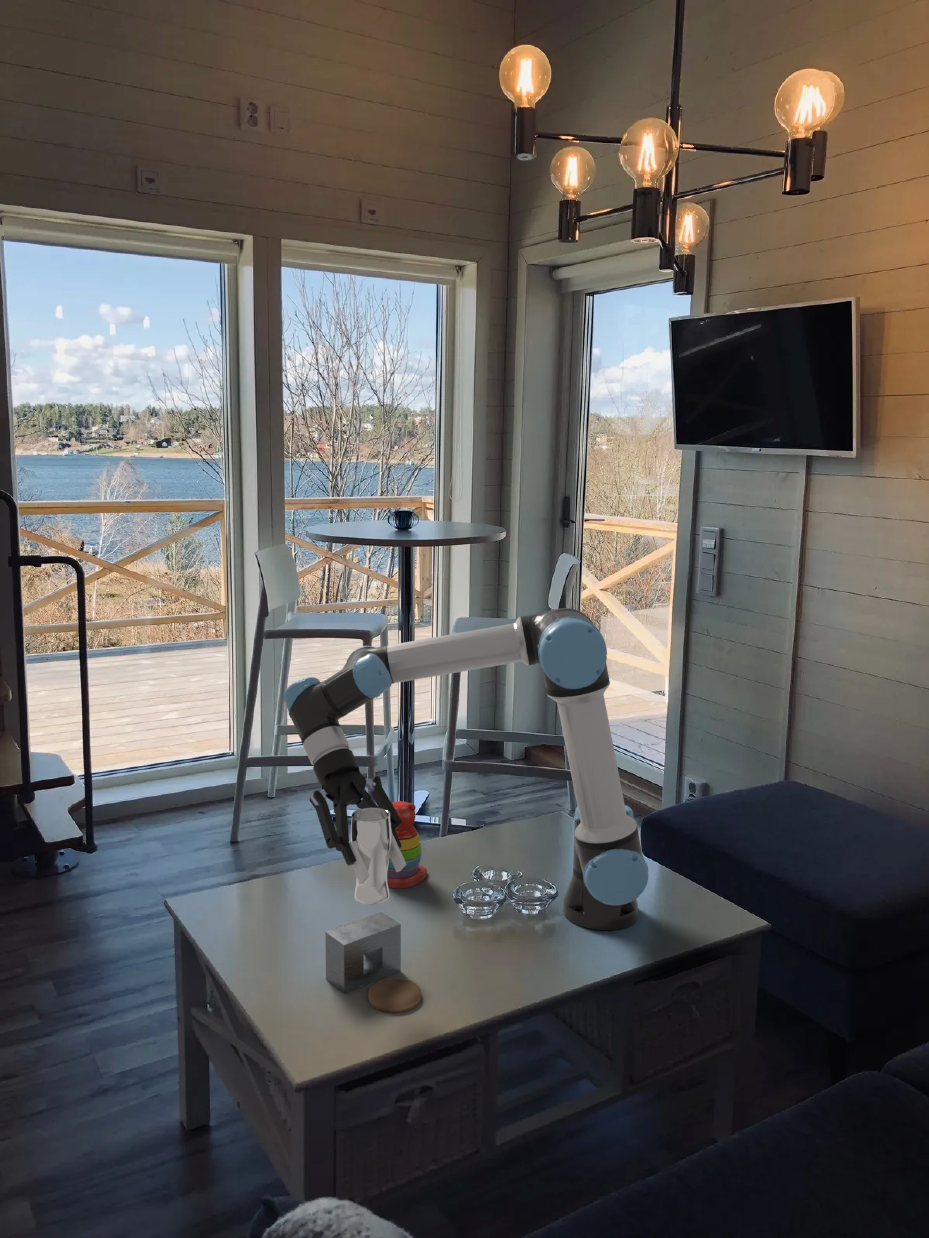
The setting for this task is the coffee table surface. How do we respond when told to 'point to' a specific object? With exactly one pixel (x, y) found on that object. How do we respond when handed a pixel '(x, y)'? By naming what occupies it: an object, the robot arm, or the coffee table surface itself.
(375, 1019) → the coffee table surface
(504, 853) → the coffee table surface
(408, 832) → the stacking bear
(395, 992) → the walnut coaster
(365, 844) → the beer glass
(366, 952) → the grey block with hole
